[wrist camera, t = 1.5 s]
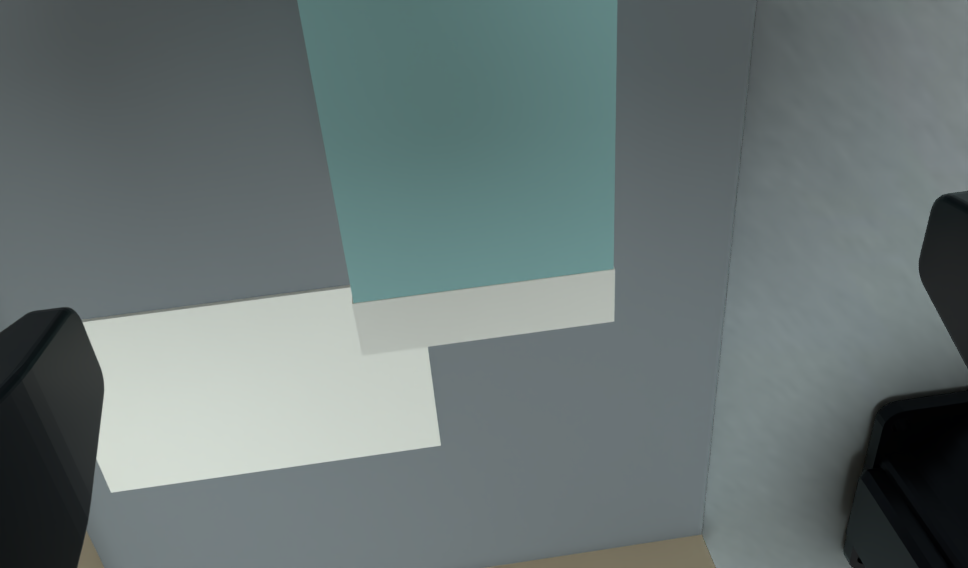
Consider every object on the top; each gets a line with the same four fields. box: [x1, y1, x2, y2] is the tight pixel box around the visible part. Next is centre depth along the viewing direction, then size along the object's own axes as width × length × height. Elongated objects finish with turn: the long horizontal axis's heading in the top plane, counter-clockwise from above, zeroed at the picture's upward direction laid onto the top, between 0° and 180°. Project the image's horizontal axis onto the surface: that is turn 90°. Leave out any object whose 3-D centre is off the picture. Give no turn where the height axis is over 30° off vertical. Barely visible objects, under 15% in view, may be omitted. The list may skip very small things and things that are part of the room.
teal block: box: [297, 0, 617, 356], centre depth 14 cm, size 4×7×5 cm, turn 4°
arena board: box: [0, 0, 757, 568], centre depth 19 cm, size 17×20×4 cm
